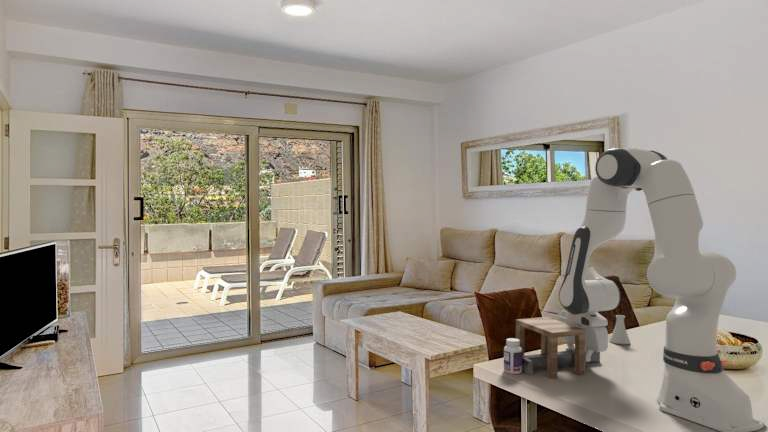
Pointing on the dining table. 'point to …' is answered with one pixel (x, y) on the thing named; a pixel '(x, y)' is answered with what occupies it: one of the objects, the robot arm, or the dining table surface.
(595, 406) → the dining table surface
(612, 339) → the flask
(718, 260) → the robot arm
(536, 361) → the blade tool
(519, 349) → the pill bottle
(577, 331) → the low table
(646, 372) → the dining table surface
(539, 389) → the dining table surface
